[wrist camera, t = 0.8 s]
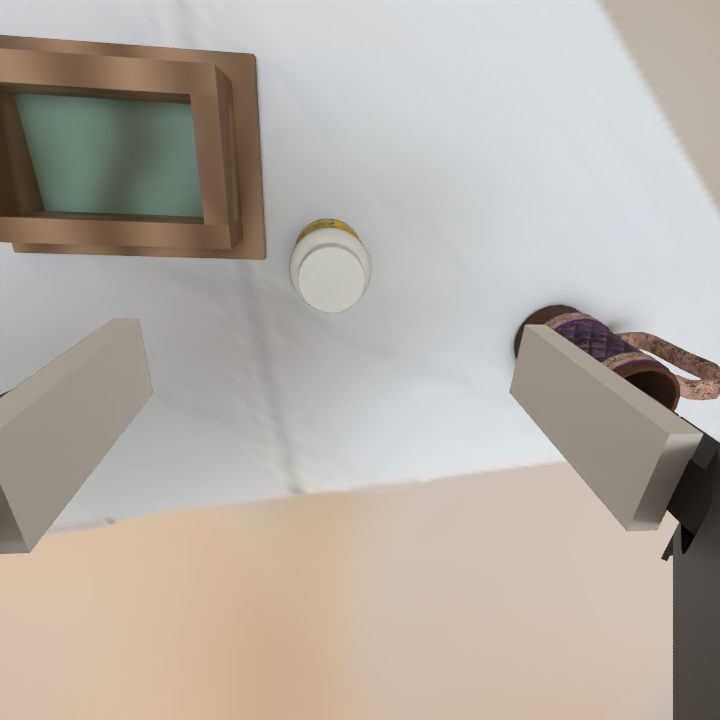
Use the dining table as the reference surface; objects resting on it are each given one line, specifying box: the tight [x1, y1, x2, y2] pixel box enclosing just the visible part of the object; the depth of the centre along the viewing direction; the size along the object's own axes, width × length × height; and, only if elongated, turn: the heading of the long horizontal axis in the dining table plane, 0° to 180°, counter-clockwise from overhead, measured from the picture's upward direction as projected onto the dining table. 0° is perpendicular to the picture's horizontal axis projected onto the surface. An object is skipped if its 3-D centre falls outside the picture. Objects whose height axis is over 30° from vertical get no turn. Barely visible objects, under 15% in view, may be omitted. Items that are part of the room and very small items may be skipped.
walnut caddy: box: [0, 35, 266, 260], centre depth 26 cm, size 18×13×6 cm
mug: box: [515, 305, 720, 411], centre depth 32 cm, size 10×7×12 cm
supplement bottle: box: [289, 219, 371, 313], centre depth 28 cm, size 5×5×10 cm
